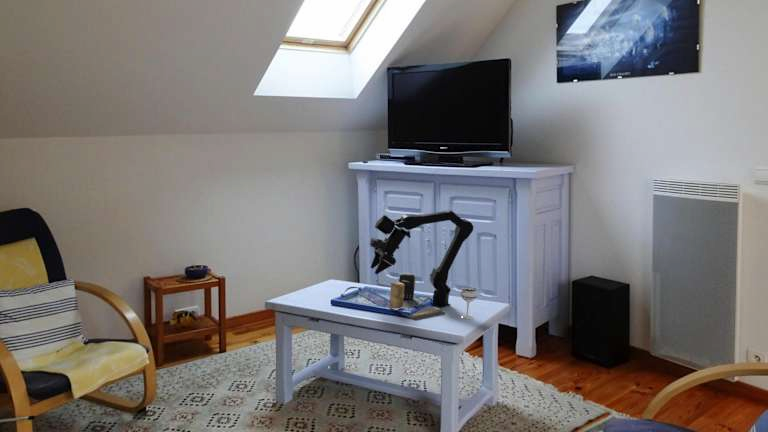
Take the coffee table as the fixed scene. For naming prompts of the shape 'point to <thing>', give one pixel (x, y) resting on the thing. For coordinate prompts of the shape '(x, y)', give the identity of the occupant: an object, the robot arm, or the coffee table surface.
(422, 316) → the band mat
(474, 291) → the wineglass
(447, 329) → the coffee table surface
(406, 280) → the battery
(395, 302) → the sleeve
